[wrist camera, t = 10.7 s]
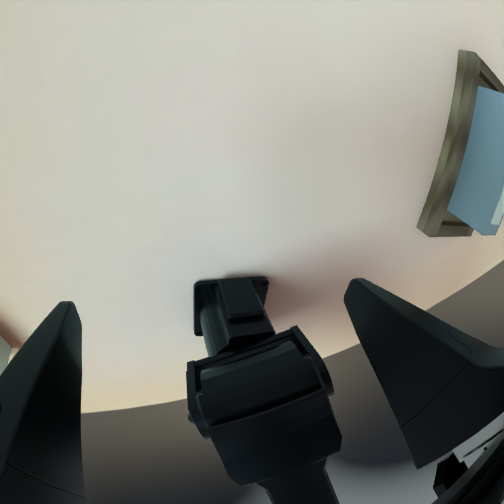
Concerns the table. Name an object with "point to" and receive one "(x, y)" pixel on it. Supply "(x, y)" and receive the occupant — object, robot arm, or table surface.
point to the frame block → (482, 167)
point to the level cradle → (456, 147)
